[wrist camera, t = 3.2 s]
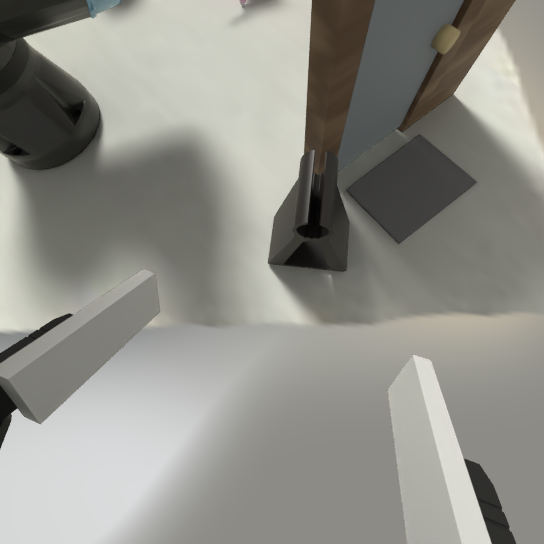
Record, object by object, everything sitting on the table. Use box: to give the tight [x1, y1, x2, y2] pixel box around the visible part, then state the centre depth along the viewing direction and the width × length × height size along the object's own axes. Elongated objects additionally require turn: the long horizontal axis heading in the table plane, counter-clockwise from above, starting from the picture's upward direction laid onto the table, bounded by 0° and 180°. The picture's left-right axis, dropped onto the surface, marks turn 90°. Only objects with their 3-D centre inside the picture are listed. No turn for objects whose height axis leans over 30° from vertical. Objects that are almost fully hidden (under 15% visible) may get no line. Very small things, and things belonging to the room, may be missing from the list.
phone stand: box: [268, 150, 349, 271], centre depth 23 cm, size 9×6×12 cm, turn 82°
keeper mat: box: [346, 135, 477, 243], centre depth 30 cm, size 9×12×1 cm
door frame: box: [304, 0, 515, 175], centre depth 20 cm, size 2×24×24 cm, turn 127°
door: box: [337, 0, 464, 172], centre depth 20 cm, size 11×3×21 cm, turn 127°
